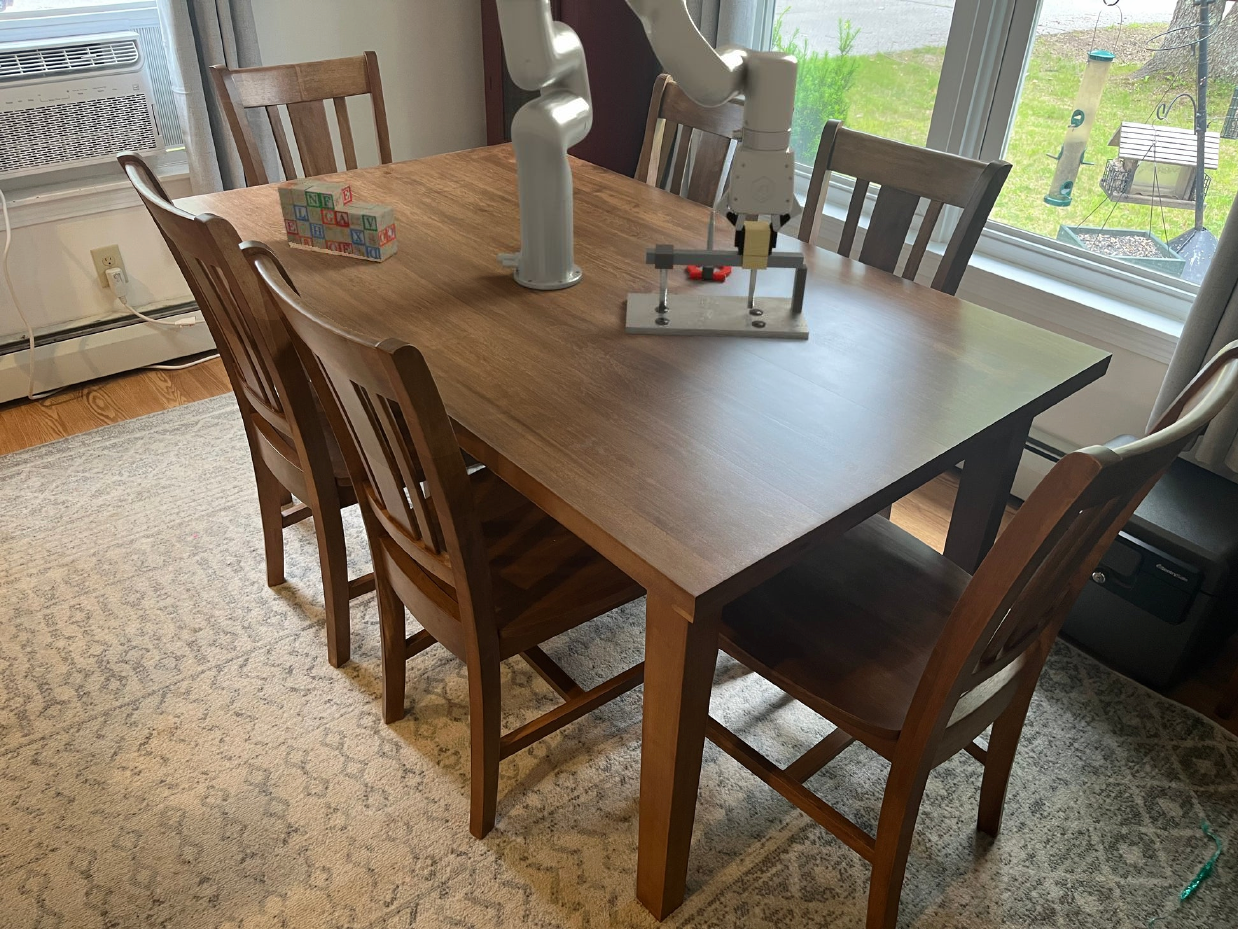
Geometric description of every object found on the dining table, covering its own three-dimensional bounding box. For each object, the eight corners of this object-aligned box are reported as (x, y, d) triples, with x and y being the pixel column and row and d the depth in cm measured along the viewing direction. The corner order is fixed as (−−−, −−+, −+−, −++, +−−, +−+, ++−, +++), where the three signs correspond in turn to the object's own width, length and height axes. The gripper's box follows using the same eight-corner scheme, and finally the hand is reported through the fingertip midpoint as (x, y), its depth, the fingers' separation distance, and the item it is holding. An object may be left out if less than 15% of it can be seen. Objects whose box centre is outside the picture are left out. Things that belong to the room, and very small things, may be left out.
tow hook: (688, 263, 185) (684, 279, 177) (693, 197, 178) (688, 210, 171) (732, 267, 184) (729, 283, 176) (738, 200, 178) (736, 213, 170)
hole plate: (625, 333, 157) (625, 326, 157) (627, 299, 169) (627, 292, 168) (808, 338, 157) (809, 331, 156) (797, 304, 168) (798, 297, 168)
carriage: (738, 308, 161) (745, 230, 154) (736, 297, 165) (743, 221, 158) (762, 309, 161) (770, 231, 154) (759, 298, 165) (767, 221, 158)
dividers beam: (644, 310, 162) (646, 253, 157) (644, 299, 166) (646, 243, 160) (802, 315, 162) (810, 258, 156) (799, 304, 165) (806, 248, 160)
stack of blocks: (399, 253, 186) (392, 190, 179) (381, 264, 181) (373, 200, 175) (307, 238, 192) (297, 176, 186) (287, 248, 187) (276, 185, 181)
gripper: (712, 143, 145) (704, 258, 155) (823, 146, 145) (808, 261, 155) (710, 131, 151) (702, 242, 162) (816, 133, 151) (802, 245, 161)
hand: (754, 250), depth 158 cm, fingers closed on carriage, 4 cm apart
